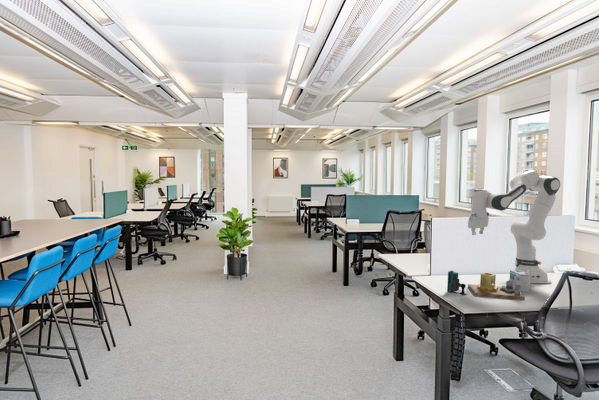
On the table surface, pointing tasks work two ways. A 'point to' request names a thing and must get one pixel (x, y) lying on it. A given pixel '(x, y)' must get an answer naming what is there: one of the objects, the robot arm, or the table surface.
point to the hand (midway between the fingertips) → (477, 234)
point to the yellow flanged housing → (487, 282)
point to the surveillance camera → (454, 283)
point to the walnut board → (498, 293)
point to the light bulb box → (520, 279)
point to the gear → (508, 287)
